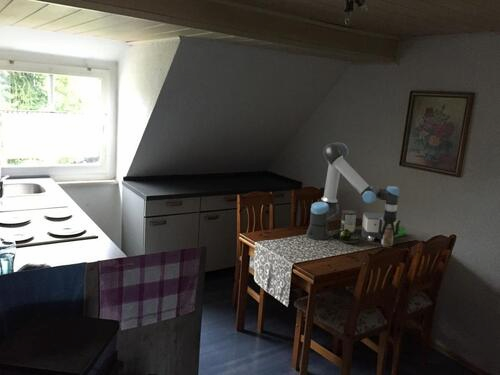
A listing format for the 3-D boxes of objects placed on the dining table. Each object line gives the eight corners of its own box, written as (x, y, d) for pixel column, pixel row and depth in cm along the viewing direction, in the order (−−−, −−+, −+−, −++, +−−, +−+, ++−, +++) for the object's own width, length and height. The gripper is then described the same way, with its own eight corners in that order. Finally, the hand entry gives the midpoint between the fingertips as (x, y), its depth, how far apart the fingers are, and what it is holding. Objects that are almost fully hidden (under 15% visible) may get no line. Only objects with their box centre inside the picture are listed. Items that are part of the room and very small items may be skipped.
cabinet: (365, 242, 284) (367, 218, 281) (360, 234, 299) (363, 212, 296) (393, 243, 283) (396, 219, 280) (387, 236, 298) (389, 213, 295)
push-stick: (383, 247, 276) (385, 229, 273) (378, 239, 290) (380, 223, 288) (391, 247, 275) (393, 230, 273) (385, 240, 290) (387, 223, 288)
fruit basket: (396, 237, 297) (398, 222, 295) (385, 234, 304) (387, 219, 302) (405, 235, 303) (407, 220, 301) (395, 232, 310) (397, 217, 308)
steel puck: (368, 241, 287) (368, 236, 286) (366, 239, 291) (367, 234, 290) (374, 241, 286) (375, 237, 286) (373, 239, 291) (373, 235, 290)
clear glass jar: (337, 229, 309) (339, 211, 307) (345, 227, 316) (347, 209, 314) (349, 233, 302) (351, 214, 299) (357, 230, 309) (359, 212, 306)
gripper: (378, 210, 270) (374, 245, 274) (406, 212, 269) (402, 247, 273) (375, 207, 277) (371, 241, 282) (403, 209, 276) (399, 243, 281)
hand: (386, 244), depth 278 cm, fingers closed on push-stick, 5 cm apart
